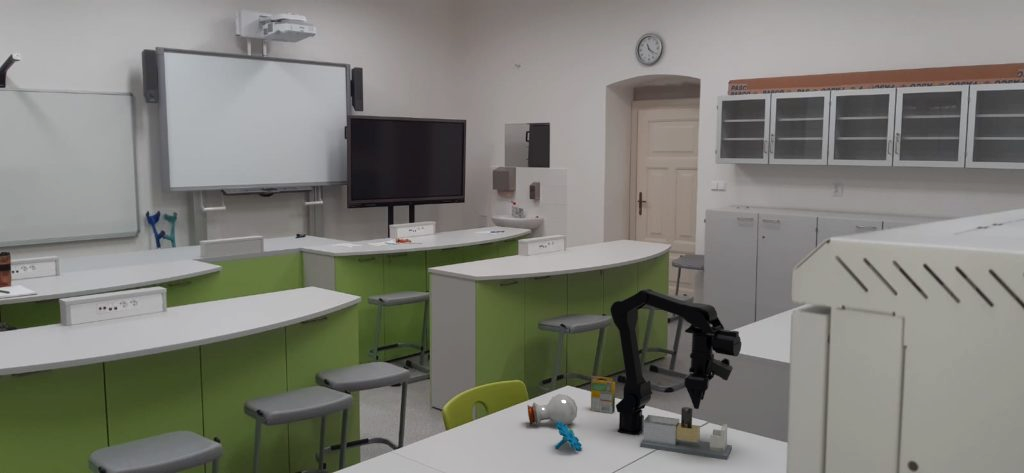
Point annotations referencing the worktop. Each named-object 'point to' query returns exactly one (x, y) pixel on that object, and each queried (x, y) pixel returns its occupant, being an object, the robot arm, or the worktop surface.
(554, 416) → the potion bottle
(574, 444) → the gear
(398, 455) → the worktop surface
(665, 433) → the sleeve
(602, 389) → the crayon box
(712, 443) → the socket
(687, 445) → the board
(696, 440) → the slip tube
